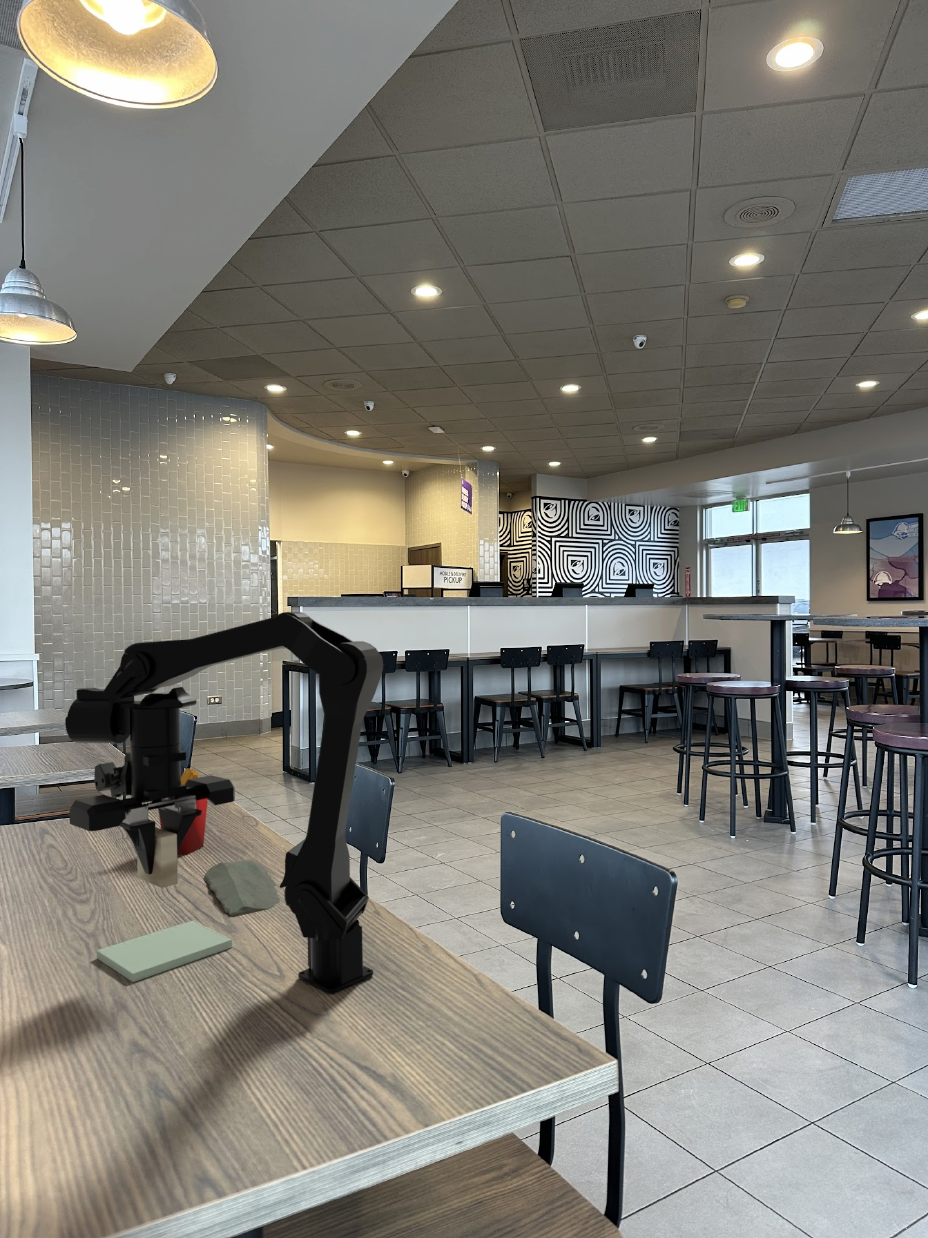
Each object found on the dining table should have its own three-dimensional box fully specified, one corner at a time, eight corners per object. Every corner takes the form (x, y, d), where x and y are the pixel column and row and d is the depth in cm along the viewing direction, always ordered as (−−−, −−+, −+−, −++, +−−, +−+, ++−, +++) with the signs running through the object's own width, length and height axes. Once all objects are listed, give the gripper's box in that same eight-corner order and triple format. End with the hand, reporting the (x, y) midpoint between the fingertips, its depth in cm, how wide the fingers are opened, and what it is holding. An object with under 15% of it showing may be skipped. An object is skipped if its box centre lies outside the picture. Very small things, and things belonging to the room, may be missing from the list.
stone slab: (260, 874, 139) (200, 876, 135) (262, 858, 139) (202, 859, 135) (291, 919, 119) (222, 923, 114) (293, 900, 119) (224, 903, 115)
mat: (232, 947, 104) (231, 939, 104) (132, 982, 95) (132, 974, 95) (193, 927, 111) (193, 920, 111) (97, 958, 102) (97, 950, 102)
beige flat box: (178, 883, 98) (177, 834, 98) (162, 888, 97) (161, 837, 97) (153, 873, 102) (152, 826, 102) (137, 877, 101) (136, 829, 100)
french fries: (156, 854, 146) (154, 771, 146) (184, 841, 154) (183, 762, 154) (198, 857, 143) (196, 773, 143) (225, 844, 151) (223, 764, 151)
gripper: (190, 729, 111) (192, 842, 112) (48, 748, 97) (51, 877, 98) (236, 736, 104) (238, 858, 104) (89, 758, 90) (92, 898, 90)
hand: (157, 871), depth 99 cm, fingers closed on beige flat box, 2 cm apart
